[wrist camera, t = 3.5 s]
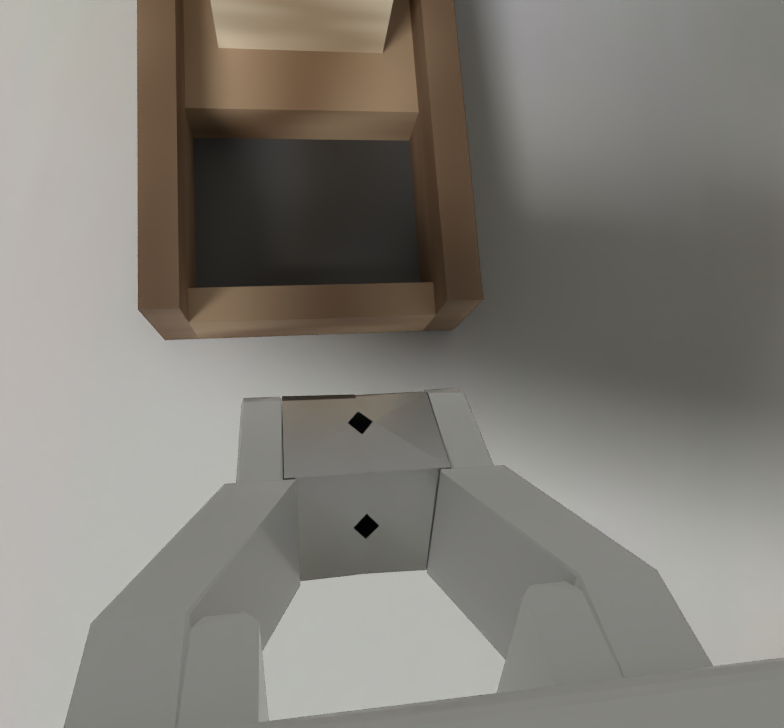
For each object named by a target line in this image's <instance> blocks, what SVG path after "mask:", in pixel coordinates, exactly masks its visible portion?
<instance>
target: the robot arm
mask: <svg viewBox="0 0 784 728" xmlns="http://www.w3.org/2000/svg"><path fill="white" fill-rule="evenodd" d="M415 570H427V573H428V575H429V576H430V577H431V578H432V579H433V580H434V581H435V582H436V583H437V584H438V586H439V587H440V588H441V589H442V590H443V591H444V592H445V593H446V594H447V596H448V597H449V598H450V599H451V600H452V601H453V602H454V603H455V604H456V605H457V607H458V608H459V609H460V610H461V611H462V612H463V613H464V614H465V615H466V617H467V618H468V619H469V620H470V621H471V622H472V623H473V624H474V625H475V627H476V628H477V629H478V630H479V631H480V632H481V633H482V634H483V635H484V636H485V638H486V639H487V640H488V641H489V642H490V643H491V644H492V645H493V646H494V648H495V649H496V650H497V651H498V652H499V653H500V654H501V655H502V656H503V657H504V659H505V660H506V661H505V664H504V668H503V672H502V675H501V679H500V682H499V686H498V690H497V693H494V694H486V695H478V696H470V697H462V698H453V699H445V700H437V701H429V702H421V703H413V704H404V705H396V706H388V707H380V708H372V709H363V710H355V711H347V712H339V713H331V714H323V715H314V716H306V717H298V718H290V719H282V720H273V721H269V717H268V707H267V697H266V687H265V676H264V666H263V656H262V651H263V649H264V647H265V646H266V644H267V642H268V640H269V639H270V637H271V635H272V633H273V632H274V630H275V628H276V626H277V625H278V623H279V621H280V620H281V618H282V616H283V614H284V613H285V611H286V609H287V607H288V606H289V604H290V602H291V600H292V599H293V597H294V595H295V593H296V592H297V590H298V588H299V587H300V581H306V580H315V579H323V578H332V577H340V576H349V575H357V574H368V573H383V572H399V571H415ZM64 728H784V658H777V659H768V660H760V661H752V662H744V663H736V664H728V665H720V666H713V665H712V663H711V662H710V660H709V658H708V656H707V655H706V653H705V651H704V650H703V648H702V646H701V644H700V643H699V641H698V639H697V638H696V636H695V634H694V632H693V631H692V629H691V627H690V626H689V624H688V622H687V621H686V619H685V617H684V615H683V614H682V612H681V610H680V609H679V607H678V605H677V603H676V602H675V600H674V598H673V597H672V595H671V593H670V591H669V590H668V588H667V586H666V585H665V583H664V581H663V579H662V578H661V576H660V574H659V573H658V571H657V570H656V569H654V568H653V567H652V566H650V565H649V564H647V563H646V562H644V561H643V560H641V559H640V558H638V557H637V556H636V555H634V554H633V553H631V552H630V551H628V550H627V549H625V548H624V547H622V546H621V545H620V544H618V543H617V542H615V541H614V540H612V539H611V538H609V537H608V536H606V535H605V534H604V533H602V532H601V531H599V530H598V529H596V528H595V527H593V526H592V525H591V524H589V523H588V522H586V521H585V520H583V519H582V518H580V517H579V516H577V515H576V514H575V513H573V512H572V511H570V510H569V509H567V508H566V507H564V506H563V505H561V504H560V503H559V502H557V501H556V500H554V499H553V498H551V497H550V496H548V495H547V494H545V493H544V492H543V491H541V490H540V489H538V488H537V487H535V486H534V485H532V484H531V483H530V482H528V481H527V480H525V479H524V478H522V477H521V476H519V475H518V474H516V473H515V472H514V471H512V470H511V469H509V468H508V467H506V466H505V465H501V466H494V465H493V462H492V460H491V457H490V455H489V452H488V450H487V448H486V445H485V443H484V440H483V438H482V435H481V433H480V430H479V428H478V426H477V423H476V421H475V418H474V416H473V413H472V411H471V409H470V406H469V404H468V401H467V399H466V396H465V394H464V391H462V390H461V389H460V388H449V389H435V390H424V392H406V393H387V394H368V395H320V396H282V400H281V398H280V397H261V398H244V399H243V402H242V404H241V416H240V431H239V447H238V462H237V478H236V483H230V484H224V485H223V486H222V487H221V488H220V489H219V490H218V491H217V492H216V493H215V494H214V495H213V496H212V497H211V499H210V500H209V501H208V502H207V503H206V504H205V505H204V506H203V507H202V508H201V509H200V510H199V511H198V512H197V513H196V514H195V515H194V516H193V517H192V518H191V519H190V520H189V522H188V523H187V524H186V525H185V526H184V527H183V528H182V529H181V530H180V531H179V532H178V533H177V534H176V535H175V536H174V537H173V538H172V539H171V540H170V541H169V542H168V543H167V545H166V546H165V547H164V548H163V549H162V550H161V551H160V552H159V553H158V554H157V555H156V556H155V557H154V558H153V559H152V560H151V561H150V562H149V563H148V564H147V565H146V566H145V568H144V569H143V570H142V571H141V572H140V573H139V574H138V575H137V576H136V577H135V578H134V579H133V580H132V581H131V582H130V583H129V584H128V585H127V586H126V587H125V588H124V589H123V591H122V592H121V593H120V594H119V595H118V596H117V597H116V598H115V599H114V600H113V601H112V602H111V603H110V604H109V605H108V606H107V607H106V608H105V609H104V610H103V611H102V612H101V614H100V615H99V616H98V617H97V618H96V619H95V620H94V621H93V622H92V623H91V625H90V629H89V633H88V637H87V641H86V644H85V648H84V652H83V656H82V660H81V664H80V667H79V671H78V675H77V679H76V683H75V686H74V690H73V694H72V698H71V702H70V705H69V709H68V713H67V717H66V721H65V724H64Z"/></svg>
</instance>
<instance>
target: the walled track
mask: <svg viewBox="0 0 784 728" xmlns="http://www.w3.org/2000/svg"><path fill="white" fill-rule="evenodd" d="M137 101H138V310H139V311H140V312H141V313H142V315H143V316H144V317H145V318H146V319H147V320H148V321H149V322H150V324H151V325H152V326H153V327H154V328H155V329H156V330H157V331H158V333H159V334H160V335H161V336H162V337H163V338H164V339H165V340H177V339H205V338H233V337H261V336H289V335H317V334H346V333H374V332H402V331H430V330H453V329H454V328H455V327H456V326H457V325H458V324H459V323H460V322H461V321H462V320H463V319H464V318H465V317H466V316H467V315H468V314H469V313H470V312H471V311H472V310H473V309H474V308H475V307H476V306H477V305H478V304H479V303H480V302H481V301H482V300H483V292H482V282H481V272H480V261H479V251H478V241H477V231H476V221H475V211H474V200H473V190H472V180H471V170H470V160H469V150H468V140H467V129H466V119H465V109H464V99H463V89H462V79H461V68H460V58H459V48H458V38H457V28H456V18H455V7H454V0H393V4H392V9H391V14H390V19H389V24H388V29H387V34H386V39H385V43H384V48H383V53H357V52H326V51H296V50H266V49H235V48H218V42H217V36H216V30H215V25H214V19H213V13H212V7H211V1H210V0H137Z"/></svg>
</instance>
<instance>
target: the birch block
mask: <svg viewBox="0 0 784 728" xmlns="http://www.w3.org/2000/svg"><path fill="white" fill-rule="evenodd" d="M210 1H211V7H212V13H213V19H214V25H215V30H216V36H217V42H218V48H235V49H266V50H296V51H326V52H357V53H383V48H384V43H385V39H386V34H387V29H388V24H389V19H390V14H391V9H392V4H393V0H210Z"/></svg>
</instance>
